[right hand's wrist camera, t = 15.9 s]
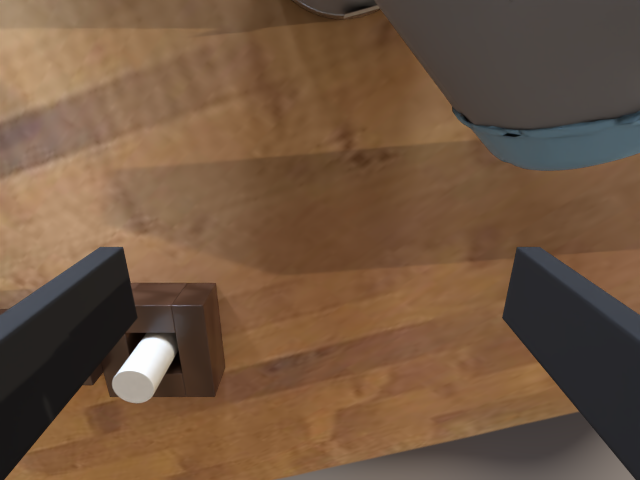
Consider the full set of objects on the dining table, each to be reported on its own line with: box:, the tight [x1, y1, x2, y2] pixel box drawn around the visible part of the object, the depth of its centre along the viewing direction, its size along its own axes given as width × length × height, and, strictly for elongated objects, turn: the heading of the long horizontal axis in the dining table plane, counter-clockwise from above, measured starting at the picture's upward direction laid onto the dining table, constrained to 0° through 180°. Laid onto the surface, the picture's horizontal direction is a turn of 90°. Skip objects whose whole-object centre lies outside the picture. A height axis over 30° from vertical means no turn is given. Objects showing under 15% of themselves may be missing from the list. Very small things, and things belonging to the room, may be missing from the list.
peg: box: [112, 332, 179, 403], centre depth 40 cm, size 4×4×10 cm
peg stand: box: [0, 283, 225, 397], centre depth 41 cm, size 32×12×7 cm, turn 90°
